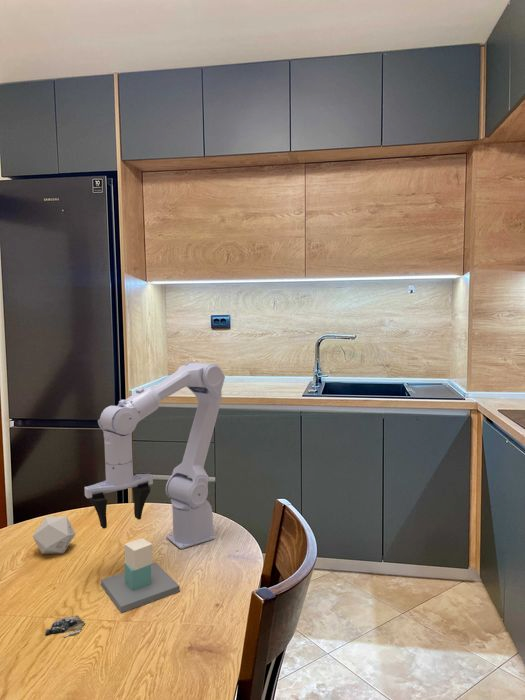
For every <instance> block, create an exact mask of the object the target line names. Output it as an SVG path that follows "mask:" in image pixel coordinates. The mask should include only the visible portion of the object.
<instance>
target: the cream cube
mask: <svg viewBox="0 0 525 700" xmlns="http://www.w3.org/2000/svg"><path fill="white" fill-rule="evenodd" d="M153 561H154V560H153V544H152V543H151V542H149V540H146V539H144V538H143V537H141V538H138V539H134V540H132V541H129V542H127V543H125V544H124V563H125V564H127V565H128V566H130V567H131V568H132V569H134V570H137V569H140V568H142V567H145V566H147V565H150V564H152V563H154V562H153Z"/></svg>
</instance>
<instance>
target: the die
mask: <svg viewBox="0 0 525 700" xmlns="http://www.w3.org/2000/svg"><path fill="white" fill-rule="evenodd" d="M75 535H76V532H75V530H74V528H73V526H72V524H71V521H70V520H69V518H68V517H67V516H46V517H45V518H44V519H43V520H42V522H41V523H40V524H39V525H38V528H37V529H36V531H35V532H34V533H33V534H32V538H33V540H34V542H35V544H36V545H37V548H38V549H39V551H40V553H41V554H42V555H45V554H47V555H49V554H54V555H55V554H56V555H57V554H64V553H65V551H66V550H67V548H68V546H69V545H70V543H71V542H72V540H73V539H74V537H75Z"/></svg>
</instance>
